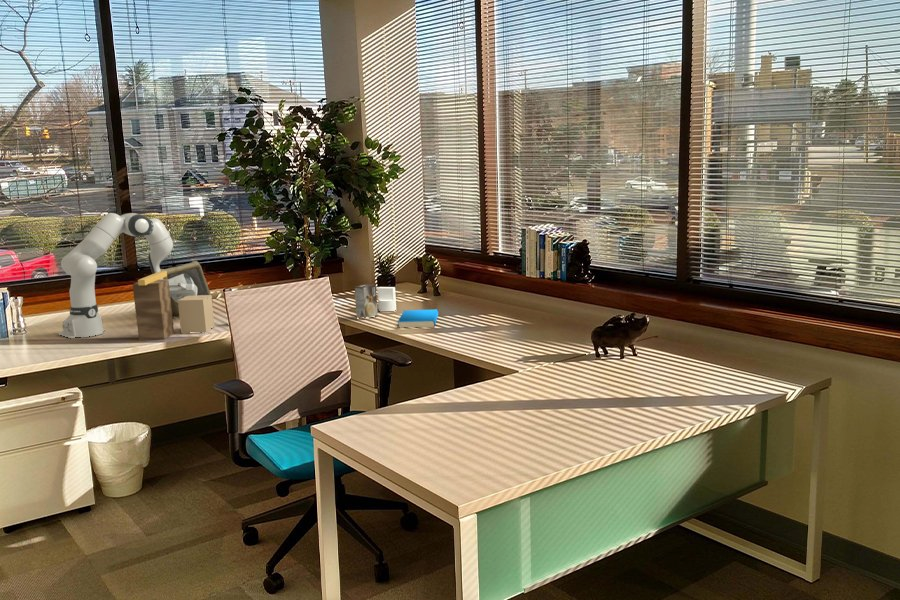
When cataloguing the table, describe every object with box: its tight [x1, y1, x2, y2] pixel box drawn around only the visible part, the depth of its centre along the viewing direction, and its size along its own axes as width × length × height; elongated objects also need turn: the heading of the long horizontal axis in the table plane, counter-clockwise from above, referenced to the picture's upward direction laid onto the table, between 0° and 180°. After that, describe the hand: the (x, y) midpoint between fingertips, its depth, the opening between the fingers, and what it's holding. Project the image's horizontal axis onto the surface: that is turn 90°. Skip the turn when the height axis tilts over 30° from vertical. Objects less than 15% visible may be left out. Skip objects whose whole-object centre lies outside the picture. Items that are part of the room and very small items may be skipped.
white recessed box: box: [377, 286, 397, 312], centre depth 430 cm, size 9×9×12 cm
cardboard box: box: [178, 294, 215, 333], centre depth 401 cm, size 12×12×16 cm
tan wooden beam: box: [137, 271, 167, 285], centre depth 391 cm, size 26×3×2 cm, turn 177°
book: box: [397, 308, 439, 328], centre depth 399 cm, size 17×4×25 cm
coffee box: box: [353, 283, 379, 318], centre depth 414 cm, size 9×6×16 cm
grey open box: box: [160, 260, 214, 317], centre depth 454 cm, size 33×14×25 cm, turn 164°
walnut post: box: [132, 279, 175, 341], centre depth 390 cm, size 12×12×26 cm
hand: (169, 284), depth 410 cm, fingers open, 8 cm apart
